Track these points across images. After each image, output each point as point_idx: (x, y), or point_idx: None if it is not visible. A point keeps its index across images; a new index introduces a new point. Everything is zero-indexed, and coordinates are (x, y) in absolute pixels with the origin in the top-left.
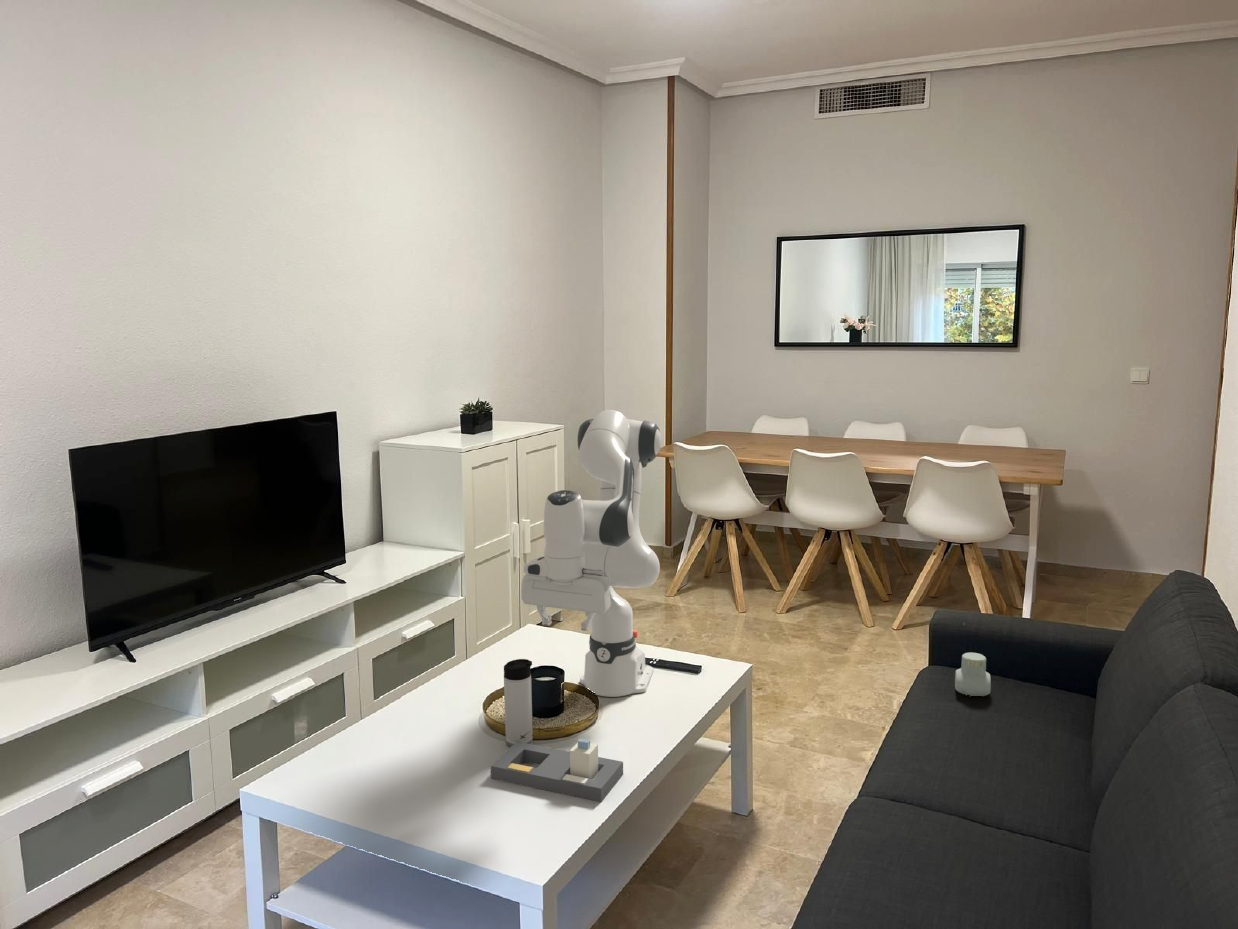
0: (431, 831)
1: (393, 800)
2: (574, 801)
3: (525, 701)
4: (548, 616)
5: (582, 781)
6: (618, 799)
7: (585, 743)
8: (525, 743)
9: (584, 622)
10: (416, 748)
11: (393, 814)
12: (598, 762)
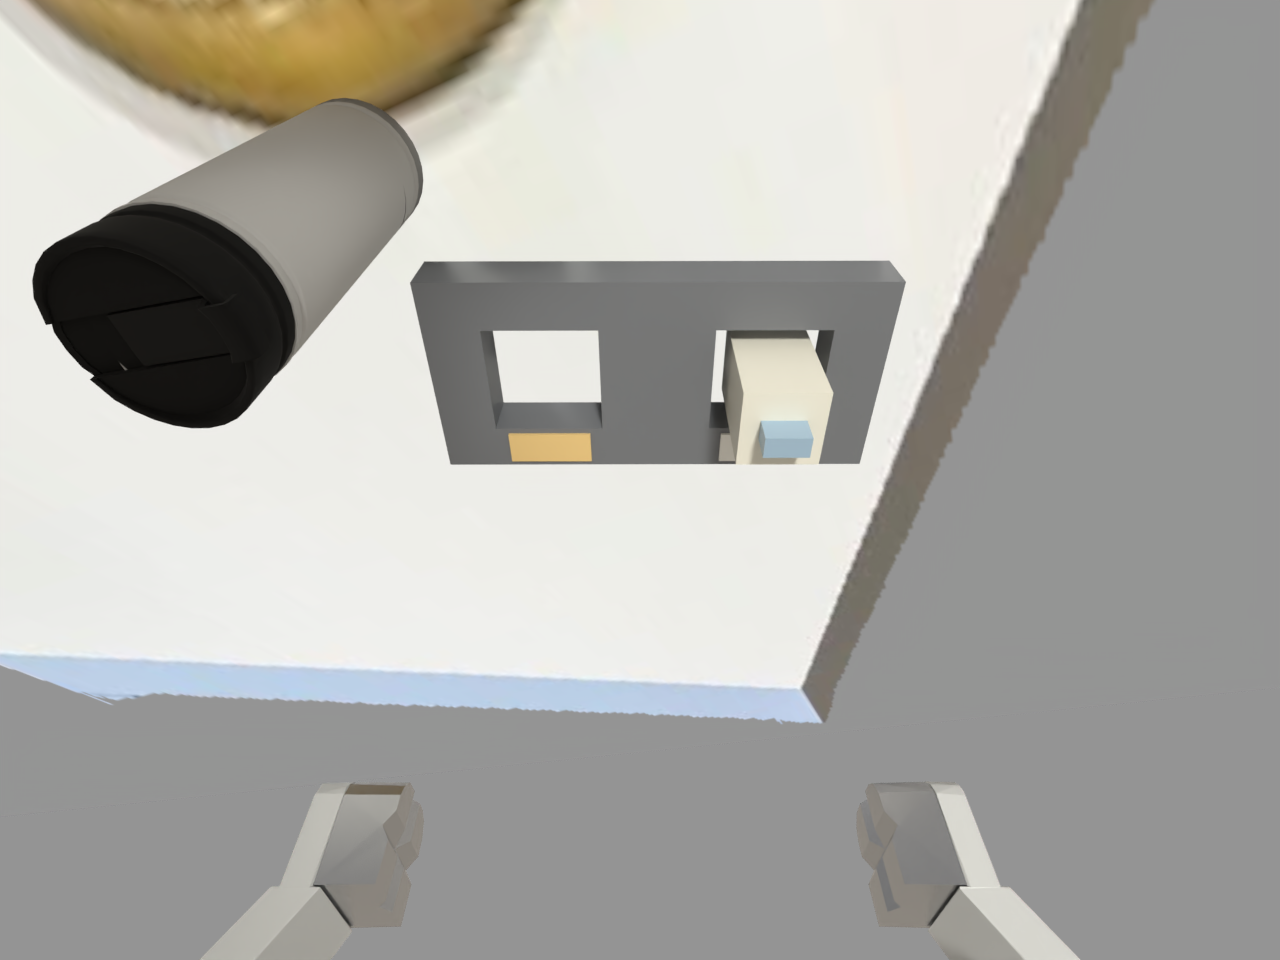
0: (493, 641)
1: (312, 588)
2: None
3: (349, 280)
4: (349, 897)
5: None
6: (898, 406)
7: (797, 454)
8: (454, 287)
9: (922, 916)
10: (70, 359)
11: (365, 623)
12: (806, 320)
